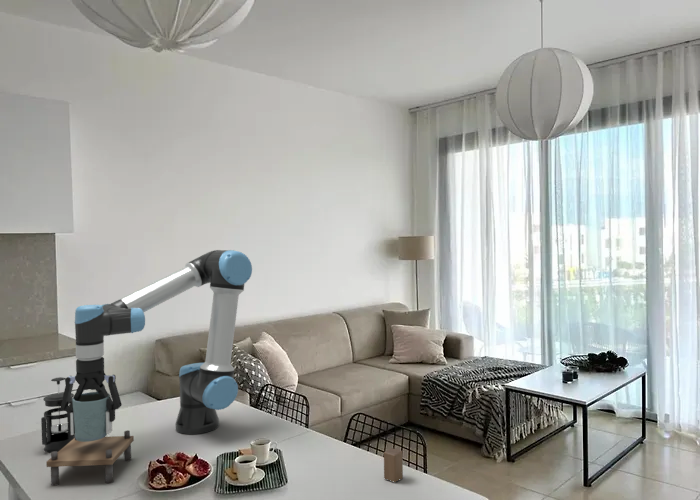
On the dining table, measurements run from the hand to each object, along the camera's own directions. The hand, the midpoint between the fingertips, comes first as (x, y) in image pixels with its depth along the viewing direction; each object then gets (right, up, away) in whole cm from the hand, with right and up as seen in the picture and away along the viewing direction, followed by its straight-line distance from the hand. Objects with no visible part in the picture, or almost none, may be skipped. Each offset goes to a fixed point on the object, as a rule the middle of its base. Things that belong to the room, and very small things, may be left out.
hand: (91, 432), depth 163 cm
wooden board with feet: (0, -12, 0) cm, 12 cm away
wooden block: (+89, -11, -7) cm, 90 cm away
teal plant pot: (0, -1, 0) cm, 1 cm away
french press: (-20, -11, +19) cm, 30 cm away
